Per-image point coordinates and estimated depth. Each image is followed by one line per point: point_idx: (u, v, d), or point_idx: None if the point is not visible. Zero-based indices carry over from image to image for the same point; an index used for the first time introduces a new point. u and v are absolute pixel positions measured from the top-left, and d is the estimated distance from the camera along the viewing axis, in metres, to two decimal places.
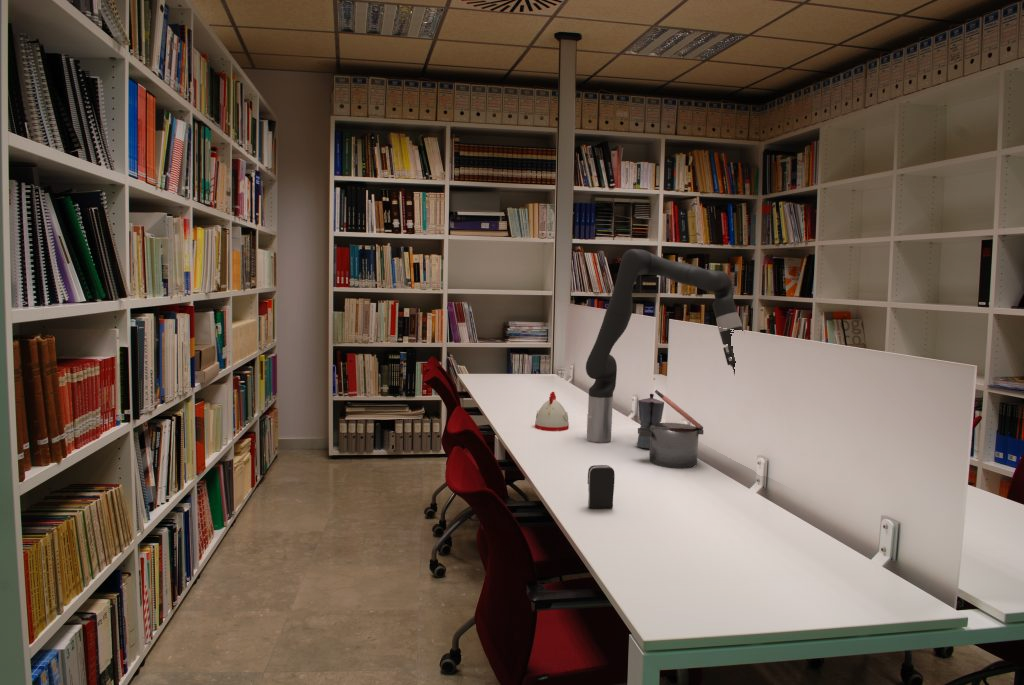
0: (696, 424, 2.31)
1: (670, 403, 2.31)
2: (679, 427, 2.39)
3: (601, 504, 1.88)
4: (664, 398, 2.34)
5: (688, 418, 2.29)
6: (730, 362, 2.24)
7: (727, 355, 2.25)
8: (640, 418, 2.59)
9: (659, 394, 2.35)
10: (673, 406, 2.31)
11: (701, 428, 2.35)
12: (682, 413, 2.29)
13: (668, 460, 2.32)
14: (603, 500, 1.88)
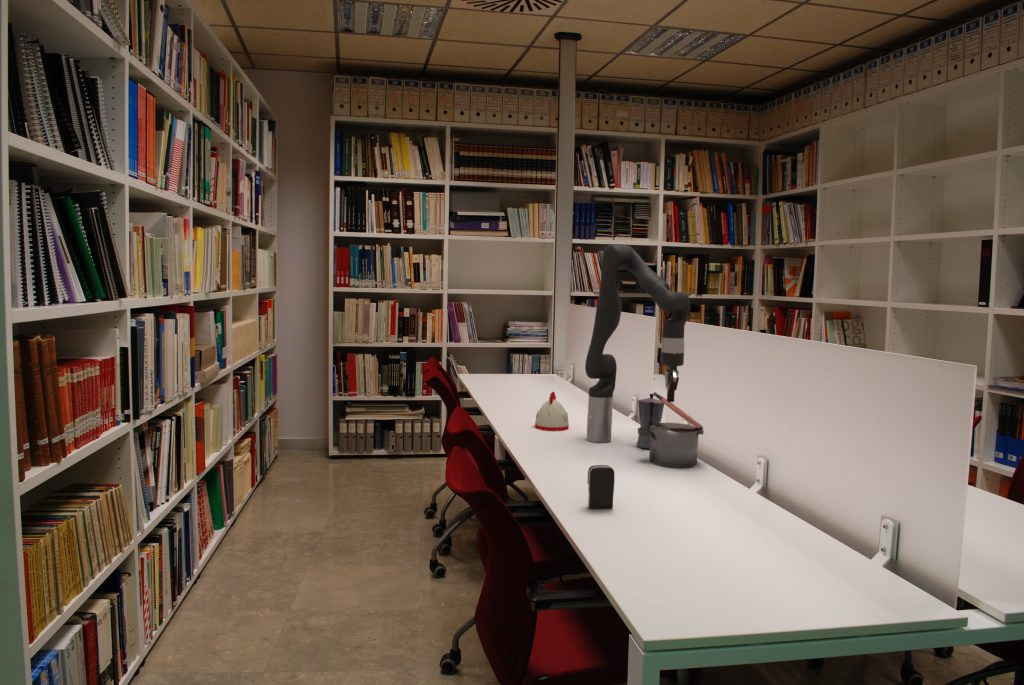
0: (696, 424, 2.31)
1: (669, 405, 2.31)
2: (679, 427, 2.39)
3: (601, 504, 1.88)
4: (662, 400, 2.34)
5: (687, 419, 2.30)
6: (672, 388, 2.34)
7: (672, 384, 2.33)
8: (640, 418, 2.59)
9: (657, 396, 2.35)
10: (672, 407, 2.31)
11: (701, 428, 2.35)
12: (681, 414, 2.29)
13: (668, 460, 2.32)
14: (603, 500, 1.88)
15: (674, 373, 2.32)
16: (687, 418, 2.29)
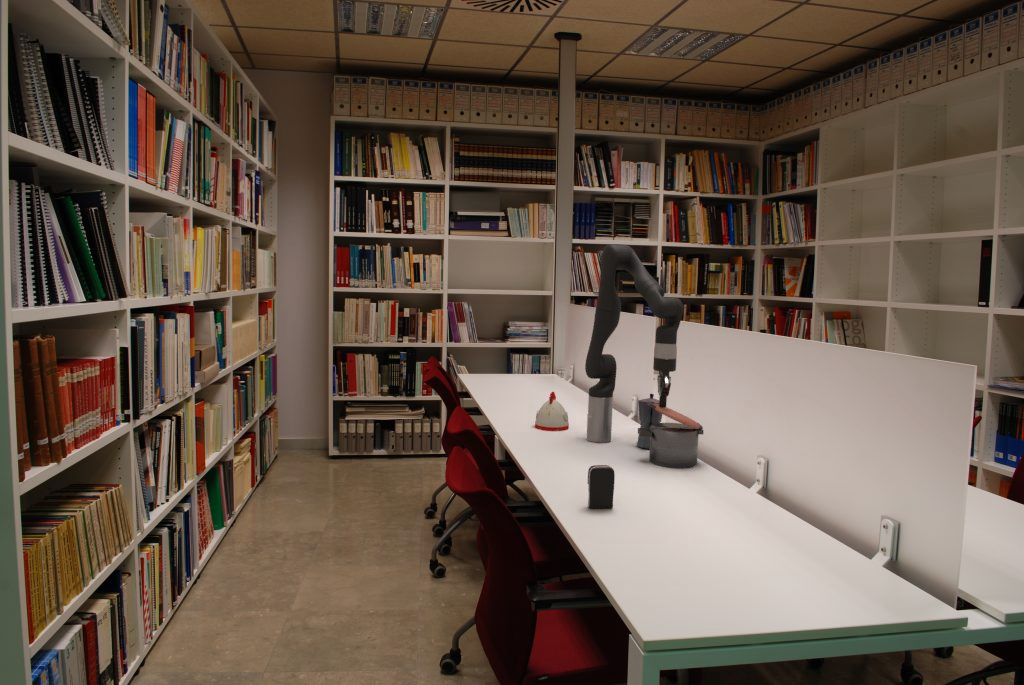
0: (694, 426, 2.31)
1: (664, 412, 2.32)
2: (679, 427, 2.39)
3: (601, 504, 1.88)
4: (657, 408, 2.35)
5: (685, 422, 2.30)
6: (664, 393, 2.34)
7: (664, 390, 2.33)
8: (640, 418, 2.59)
9: (651, 405, 2.36)
10: (667, 414, 2.31)
11: (701, 428, 2.35)
12: (677, 419, 2.30)
13: (668, 460, 2.32)
14: (603, 500, 1.88)
15: (666, 379, 2.33)
16: (684, 422, 2.30)
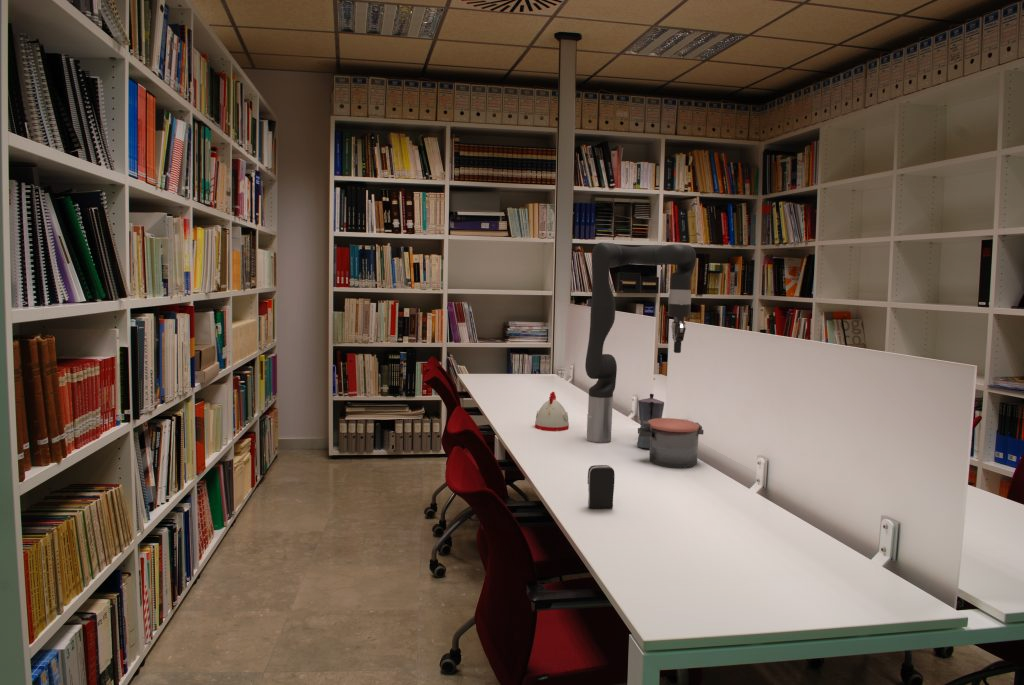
0: (693, 429, 2.32)
1: (659, 427, 2.32)
2: None
3: (601, 504, 1.88)
4: (652, 425, 2.35)
5: (682, 430, 2.30)
6: (679, 338, 2.39)
7: (679, 334, 2.38)
8: (640, 418, 2.59)
9: (646, 425, 2.36)
10: (663, 428, 2.31)
11: (700, 427, 2.35)
12: (674, 429, 2.30)
13: (668, 460, 2.32)
14: (603, 500, 1.88)
15: (681, 324, 2.38)
16: (681, 429, 2.30)
